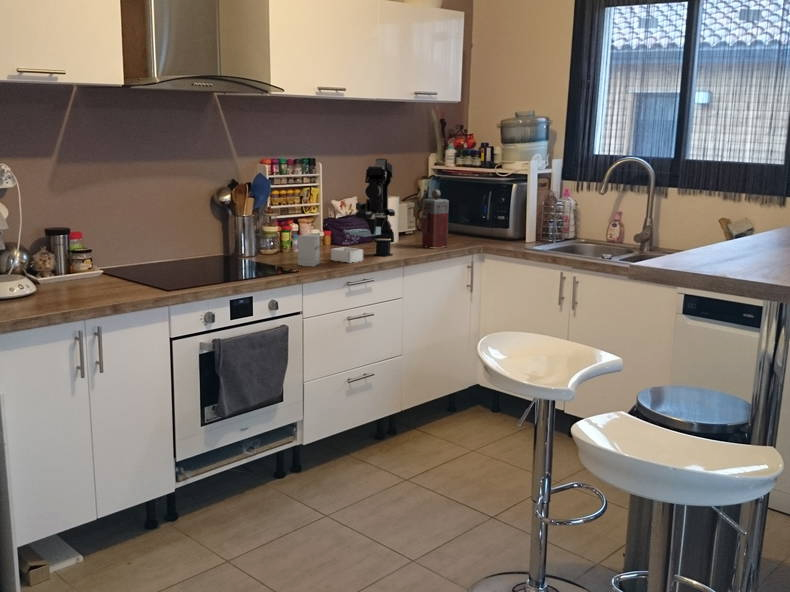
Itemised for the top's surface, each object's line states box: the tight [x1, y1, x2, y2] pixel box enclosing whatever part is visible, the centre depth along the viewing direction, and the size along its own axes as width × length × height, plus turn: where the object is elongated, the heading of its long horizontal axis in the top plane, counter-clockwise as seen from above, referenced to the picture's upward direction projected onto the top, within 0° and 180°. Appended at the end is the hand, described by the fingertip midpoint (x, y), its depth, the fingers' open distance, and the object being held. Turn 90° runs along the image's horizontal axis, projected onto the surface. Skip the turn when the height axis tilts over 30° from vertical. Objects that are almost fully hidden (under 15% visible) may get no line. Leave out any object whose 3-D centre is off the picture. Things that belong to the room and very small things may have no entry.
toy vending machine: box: [420, 189, 450, 247], centre depth 387 cm, size 9×11×28 cm
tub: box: [330, 246, 364, 264], centre depth 347 cm, size 11×9×5 cm
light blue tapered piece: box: [345, 226, 381, 238], centre depth 337 cm, size 14×9×4 cm, turn 49°
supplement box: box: [297, 233, 320, 267], centre depth 334 cm, size 7×7×13 cm
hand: (375, 234), depth 334 cm, fingers closed on light blue tapered piece, 3 cm apart
